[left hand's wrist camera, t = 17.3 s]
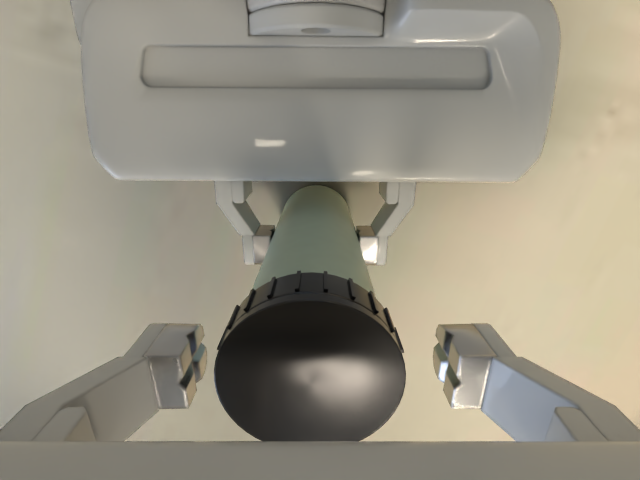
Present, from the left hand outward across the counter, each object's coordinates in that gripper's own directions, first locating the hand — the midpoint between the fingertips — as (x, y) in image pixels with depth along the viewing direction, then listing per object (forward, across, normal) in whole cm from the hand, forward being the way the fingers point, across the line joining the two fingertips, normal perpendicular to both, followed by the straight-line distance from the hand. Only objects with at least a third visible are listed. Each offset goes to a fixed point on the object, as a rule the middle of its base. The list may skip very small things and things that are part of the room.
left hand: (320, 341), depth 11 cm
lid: (-2, 0, 0) cm, 2 cm away
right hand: (+8, 0, -1) cm, 8 cm away
